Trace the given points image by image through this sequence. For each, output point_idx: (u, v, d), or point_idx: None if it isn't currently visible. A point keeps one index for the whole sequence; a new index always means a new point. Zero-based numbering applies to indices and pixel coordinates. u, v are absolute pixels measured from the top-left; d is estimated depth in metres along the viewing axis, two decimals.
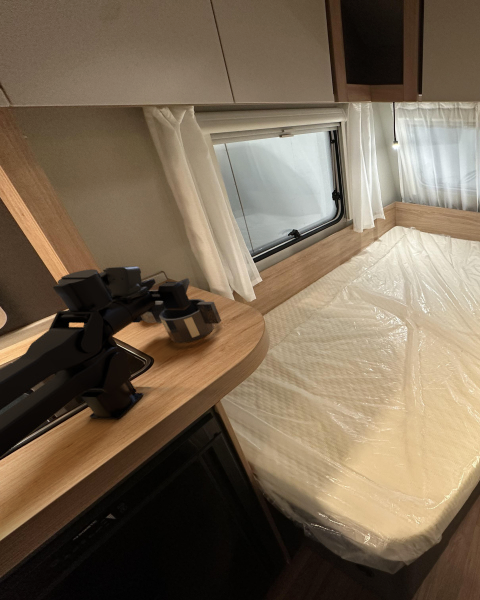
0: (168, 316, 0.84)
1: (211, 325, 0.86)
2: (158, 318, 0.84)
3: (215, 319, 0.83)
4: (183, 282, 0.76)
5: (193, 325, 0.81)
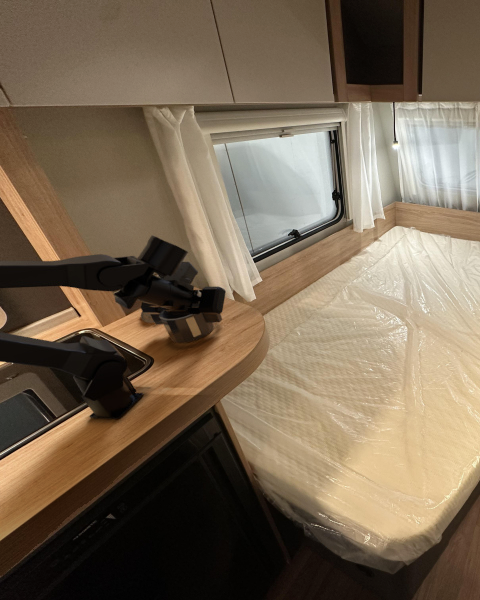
0: (167, 317, 0.83)
1: (212, 324, 0.86)
2: (157, 319, 0.84)
3: (216, 318, 0.83)
4: None
5: (194, 325, 0.81)
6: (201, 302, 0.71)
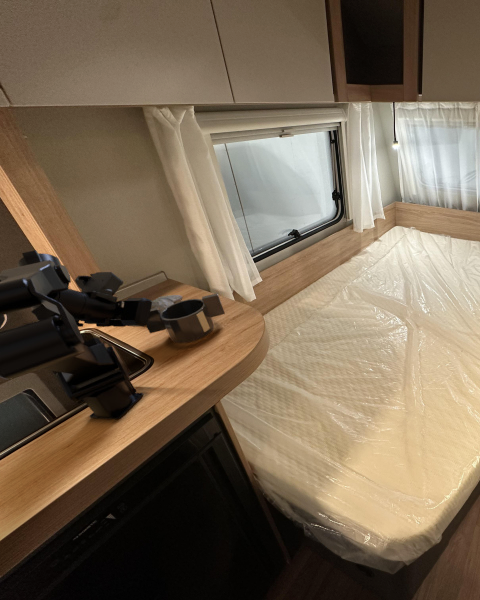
0: None
1: None
2: (152, 327, 0.81)
3: (221, 310, 0.87)
4: None
5: (204, 319, 0.83)
6: (123, 314, 0.68)
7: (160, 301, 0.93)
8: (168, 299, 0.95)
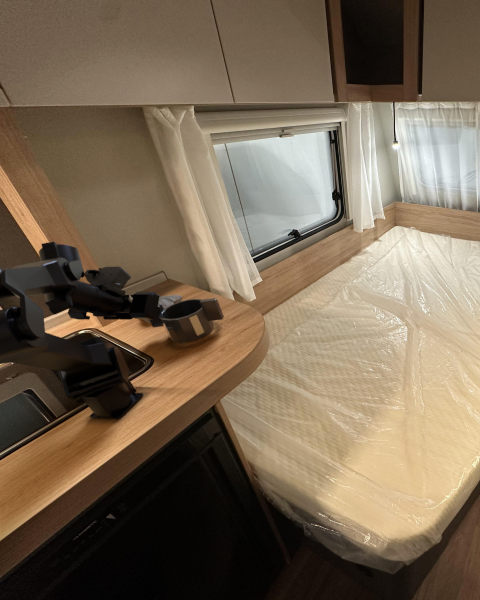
0: (166, 318, 0.83)
1: (212, 323, 0.87)
2: (155, 321, 0.83)
3: (219, 315, 0.84)
4: None
5: (198, 323, 0.82)
6: (132, 307, 0.71)
7: (160, 301, 0.93)
8: (168, 299, 0.95)
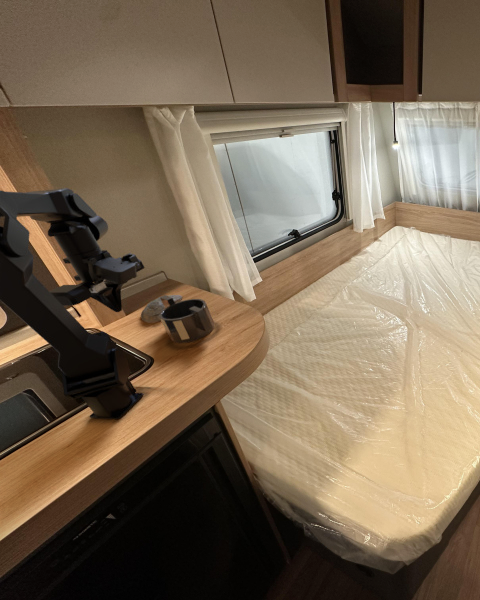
0: (174, 312, 0.85)
1: (205, 330, 0.84)
2: None
3: (203, 327, 0.80)
4: (111, 303, 0.73)
5: (182, 328, 0.80)
6: (66, 285, 0.66)
7: (160, 301, 0.93)
8: None
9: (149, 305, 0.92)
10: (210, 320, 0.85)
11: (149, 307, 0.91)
